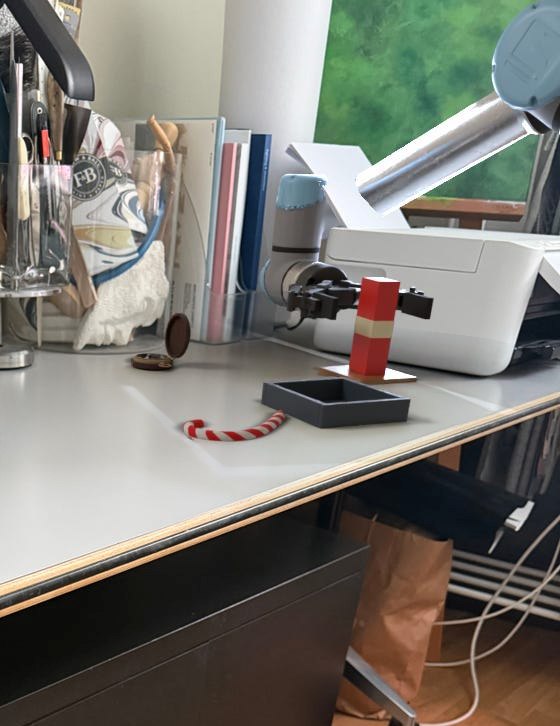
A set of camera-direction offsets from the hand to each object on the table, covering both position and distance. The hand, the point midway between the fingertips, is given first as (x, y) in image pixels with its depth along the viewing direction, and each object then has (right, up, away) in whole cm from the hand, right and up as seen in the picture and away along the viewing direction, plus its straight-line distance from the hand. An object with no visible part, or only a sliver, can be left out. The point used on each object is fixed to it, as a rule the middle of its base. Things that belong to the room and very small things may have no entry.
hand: (382, 309), depth 124 cm
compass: (-29, -5, +10) cm, 31 cm away
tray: (-11, -18, -14) cm, 25 cm away
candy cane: (-23, -21, -21) cm, 38 cm away
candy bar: (-1, -7, +5) cm, 9 cm away
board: (-1, -8, +6) cm, 10 cm away
